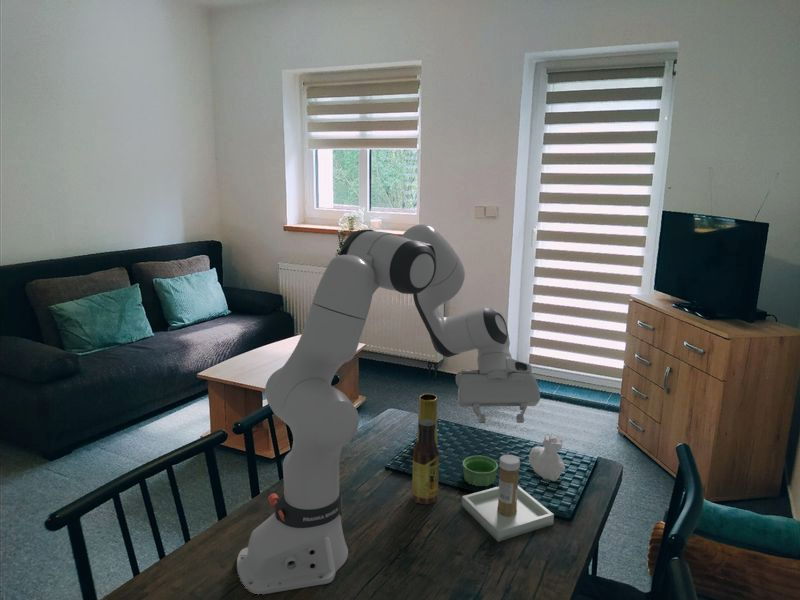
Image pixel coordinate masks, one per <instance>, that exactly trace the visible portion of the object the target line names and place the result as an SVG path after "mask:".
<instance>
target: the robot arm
mask: <svg viewBox="0 0 800 600" xmlns="http://www.w3.org/2000/svg"><path fill="white" fill-rule="evenodd" d="M465 276H466V272H465V267H464V265H463V262H462V261H461V259H460V257H459V255H458V254H457V253H456V251H455V250H454V248H453V247H452V246H451V244H450V243H449V242H448V241H447V240H446V239H445V237H444V236H443V235H442V234H441V233H440V232H438V231H437V230H436V229H435V228H434V227H432V226H430V225H428V224H416V225H413V226H411V227H409V228H408V229H407V230H406V231H405V232H404V233H402V235H401V236H400V235H397V234H394V233H390V232H386V231H376V230H373V229H359V230H358V229H357V230H355V231H354V232H352V233H351V234H350V235H349V236H348V237H347V238H346V239H345V240H344V242H343V244H342V245H341V248H340V251H339V255H337V256H335V257H334V258H332V259H331V260H330V261H329V263H328V265H327V267H326V268H325V271H324V273H323V274H322V277H321V279H320V280H319V283H318V285H317V288H316V290H315V293H314V295H313V299H312V300H311V301H312V302H311V305H310V308H309V311H308V315H307V317H306V320H305V323H304V327H303V328H302V329H303V330H302V333H301V335H300V338H299V340H298V342H297V344H296V346H295V347H294V350H292V353H291V354H290V356H289V358H288V359H287V360H286V362H285V363H284V364H283V366H282V367H280V368H278V369H277V370H275V371H274V372H273V373H272V374H271V375H270V377H269V378H268V380H267V381H266V384H265V387H264V396H265V400H266V401H267V403H268V405H269V407H270V409H271V410H272V412H273V414H274V415H275V416H276V417H278V418H279V419H280V420H281V421H282V422H284V424H286V425H287V426H288V427H289V429H290V431H291V433H292V440H293V441H292V447H291V450H290V451H288V453H287V454H286V455H285V457H284V459H283V461H282V469H283V471H282V473H283V494H282V496H281V497H280V498H279V497H278V494H277V493H274V492H273V493H270V495H269V496H268V497H267V501H268V503H269V504H270V506H271V507H274V513H272V514H271V515H270V516H269V517H268V518H267V519H265V520H264V521H263V522H262V523H260V524H259V525H258V526H256V528H254V529H253V530H252V531H251V534H250V536H249V539H248V545H247V546H246V547H245V548H242V549H241V550H240V551H239V553H238V556H237V558H236V572H237V576H238V575H239V576H238V578H240V579H239V581H240V583H241V582H242V583H241V584H243V585H244V586H245V587H244V586H243V585H242V586H243V587H244V589H245V590H246V589H248V590H249V591H250V592H252V593H254V594H258V595H257V596H260V595H259V594H262V595H266V594H272V593H278V592H279V593H280V592H285V591H290V590H291V591H292V590H296V589H302V588H303V589H304V588H308V587H309V588H310V587H315V586H320V585H327V584H330V583H332V582H333V581H334V579H335V576H336V573H337V571H339V569H340V568H342V566H343V565H344V564H346V561H347V559H348V556H349V548H348V546H347V543H346V539H345V536H344V532H343V527H342V526H343V524H342V515H343V514H342V513H343V511H342V510H343V497H342V490H340V459H341V454H342V451H343V447H345V446H346V445H348V443H350V442H351V440H353V438H354V436H355V435H356V433H357V431H358V428H359V423H360V415H359V412H358V410H357V408H356V407H355V406H354V404H353V403H352V401H351V400H350V399H349V398H348V397H347V395H346V394H345V393H344V392H342V391H341V390H339V389H338V388H336V387H334V386H333V385H332V381H333V379H334V376H335V374H336V373H337V372H338V370H339V369H340V368H341V366H342V365H343V364H345V363H348V362H350V361H351V360H353V358H354V357H355V355H356V353H357V351H358V347H359V344H360V340H361V337H362V335H363V332H364V328H365V325H366V321H367V319H368V316H369V312H370V308H371V304H372V301H373V300H372V299H373V295H374V294H375V292H376V291H377V290H378V288H382V289H385V290H389V291H395V292H398V293H401V294H406V295H412V297H413V301H414V304H415V308H416V310H417V312H418V314H419V316H420V318H421V320H422V322H423V324H424V326H425V329H426V330H427V333H428V334H429V338H430V340H431V343H432V346H433V348H434V350H435V351H436V352H437V353H438V354H440V355H442V356H443V357H445V358H451V357H454V356H456V355H457V356H458V355H460V354H461V353H465V352H470V351H475V350H477V358H476V359H477V360H476V362H477V369H474V370H473V369H472V370H464V369H463V370H461V371H459V372H457V373H456V375H455V384H456V386H457V387H458V391H457V403H458V405H459V406H461V407H463V408H464V407H472V412H473V413H474V414H475V415H476V417H477V421H478V424H485V423H486V418H485V417H486V414H485V413H483V414H482V412H481V411H480V407H519V410H520V411H521V412H520V413H516V414H517V415H516V416H515V418H516V423H517V424H523V423H524V421H525V416H524V415H525V412H526V411H527V408H528V407H535V406H537V405H538V403H540V400H541V393H540V388H539V385H538V381H537V378H536V377H535V376H534V375H533V374H532V370H533V368H532V365H531V364H530V363H527V362H523V361H519V360H516V359H515V358H512V357H513V356H512V354H511V352H510V346H511V345H510V344H511V343H510V342H511V341H510V336H509V335H510V334H509V331H508V326H507V322H506V319H505V317H504V315H503V314H502V312H501V311H499V310H496V309H493V308H492V307H491V308H490V307H486V306H485V307H481V308H477V309H473V310H470V311H466V312H462V313H459V314H455V315H453V316H452V315H451V316H442V314H441V312H440V310H439V309H440V308H439V307H440V306H441V305H443V304H444V303H447V302H449V301H450V300H452V299H453V298H455V296H456V295H457V294H458V293H459V292H460V291H461V288H462V286H463V284H464V281H465ZM248 590H247V591H248ZM249 591H248V592H249ZM250 592H249V593H250ZM252 593H251V594H252ZM254 594H253V595H254Z"/></svg>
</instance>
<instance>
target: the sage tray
mask: <svg viewBox="0 0 800 600" xmlns="http://www.w3.org/2000/svg"><path fill="white" fill-rule="evenodd" d="M498 491H499V485H498V486H495V487H492V488H489V489H488V488H487V489H484V490H481V491H477V492H473V493H470V494H465V495H462V496H461V506H462V507H463V508H464V509H465V510H466V511H467V512H468V513H469V515H471V516H472V517H473V518H474V519H475V520H476V521H477V522H478V523H479V524H480V525H481V526H482V528H484V530H486V531H487V532H488V533H489V534H490V535H491V536H492V537H493V538H494V539H495V540H496V541H497V542H502V541H505V540H508V539H511V538H514V537H517V536H520V535H524V534H527V533H530V532H533V531H537V530H539V529H542V528H545V527H549V526H552V525H554V518H555V514H554V513H553V512H551V511H550V510H549V509H548V508H547V507H545V506H544V505H543V504H542V503H540V502H539V501H538V500H537V499H535V497H534V496H532V495H530V493H528V492H526V490H524V489H523V488H522V487H521V486H520V485H518V495H517V512H516V514H515V515H512V516H506V515H502V514H500V513H499V512H498V510H497V508H498Z"/></svg>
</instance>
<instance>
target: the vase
mask: <svg viewBox="0 0 800 600" xmlns="http://www.w3.org/2000/svg"><path fill="white" fill-rule="evenodd" d="M417 415H418V416H417V417H418V418H417V424H418V423H419V421H420V420H423V419H430V420H433V421H434V422H435V432H434V437H435V442H436V445H438V443H439V442H438V396H437V395H436V394H434V393H421V394H420V395H419V397H418V414H417ZM416 432H417V433H416V435H417V436H416V443H417V442H418V440H419V438H418V437H419V427H418V426H417V431H416Z"/></svg>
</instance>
